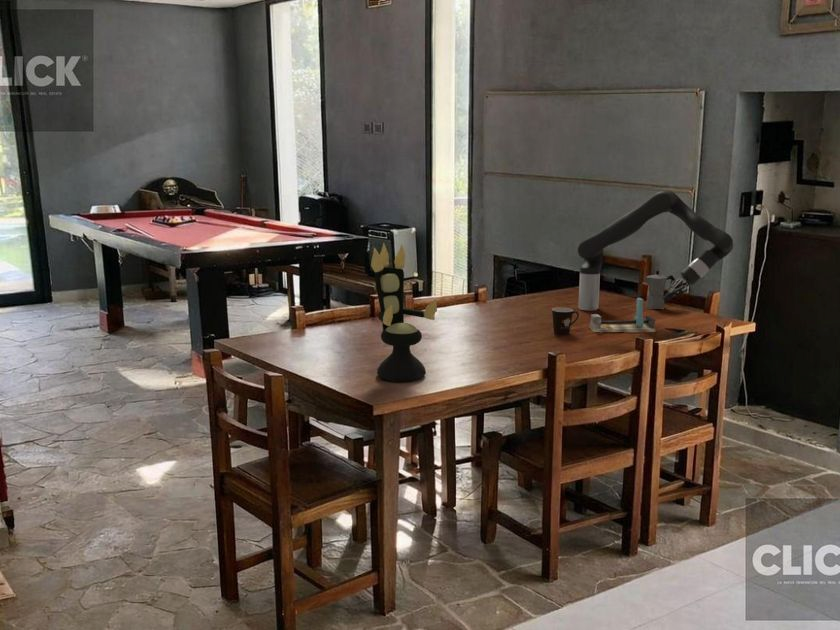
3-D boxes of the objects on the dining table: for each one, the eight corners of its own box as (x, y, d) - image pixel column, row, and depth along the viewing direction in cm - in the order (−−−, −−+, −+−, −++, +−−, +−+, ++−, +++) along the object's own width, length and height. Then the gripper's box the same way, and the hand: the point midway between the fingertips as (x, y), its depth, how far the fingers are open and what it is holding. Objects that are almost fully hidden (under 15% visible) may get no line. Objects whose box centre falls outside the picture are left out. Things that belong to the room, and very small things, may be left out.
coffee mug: (552, 335, 348) (553, 311, 346) (550, 330, 356) (550, 307, 354) (580, 335, 348) (582, 312, 346) (577, 331, 356) (578, 307, 354)
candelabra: (391, 387, 278) (390, 251, 268) (357, 371, 296) (355, 243, 286) (437, 378, 288) (439, 247, 279) (402, 363, 306) (402, 239, 297)
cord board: (648, 327, 363) (649, 312, 361) (655, 332, 355) (656, 316, 353) (589, 328, 361) (589, 313, 359) (594, 332, 353) (595, 317, 351)
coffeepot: (645, 310, 397) (648, 272, 393) (638, 306, 406) (640, 269, 402) (677, 309, 399) (679, 271, 395) (668, 305, 408) (671, 268, 404)
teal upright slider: (640, 324, 360) (641, 297, 357) (643, 326, 356) (645, 299, 353) (633, 324, 360) (635, 297, 357) (636, 326, 356) (638, 299, 353)
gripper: (683, 262, 360) (653, 291, 362) (695, 267, 347) (664, 297, 349) (694, 274, 362) (664, 303, 364) (706, 280, 349) (675, 309, 351)
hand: (664, 300), depth 356 cm, fingers closed
